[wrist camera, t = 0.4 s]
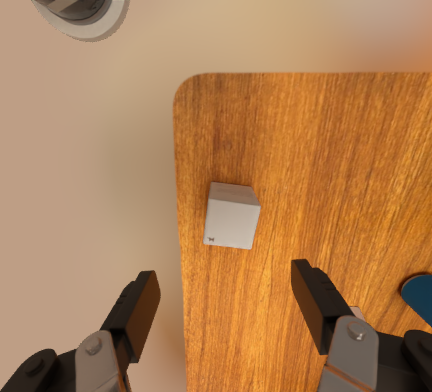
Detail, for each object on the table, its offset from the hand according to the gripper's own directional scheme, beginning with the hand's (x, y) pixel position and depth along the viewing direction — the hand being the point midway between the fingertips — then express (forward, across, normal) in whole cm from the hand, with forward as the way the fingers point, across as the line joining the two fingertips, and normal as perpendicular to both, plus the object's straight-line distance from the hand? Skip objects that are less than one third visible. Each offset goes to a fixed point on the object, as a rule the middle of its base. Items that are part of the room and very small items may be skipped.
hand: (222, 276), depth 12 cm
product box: (+19, -1, +3) cm, 19 cm away
